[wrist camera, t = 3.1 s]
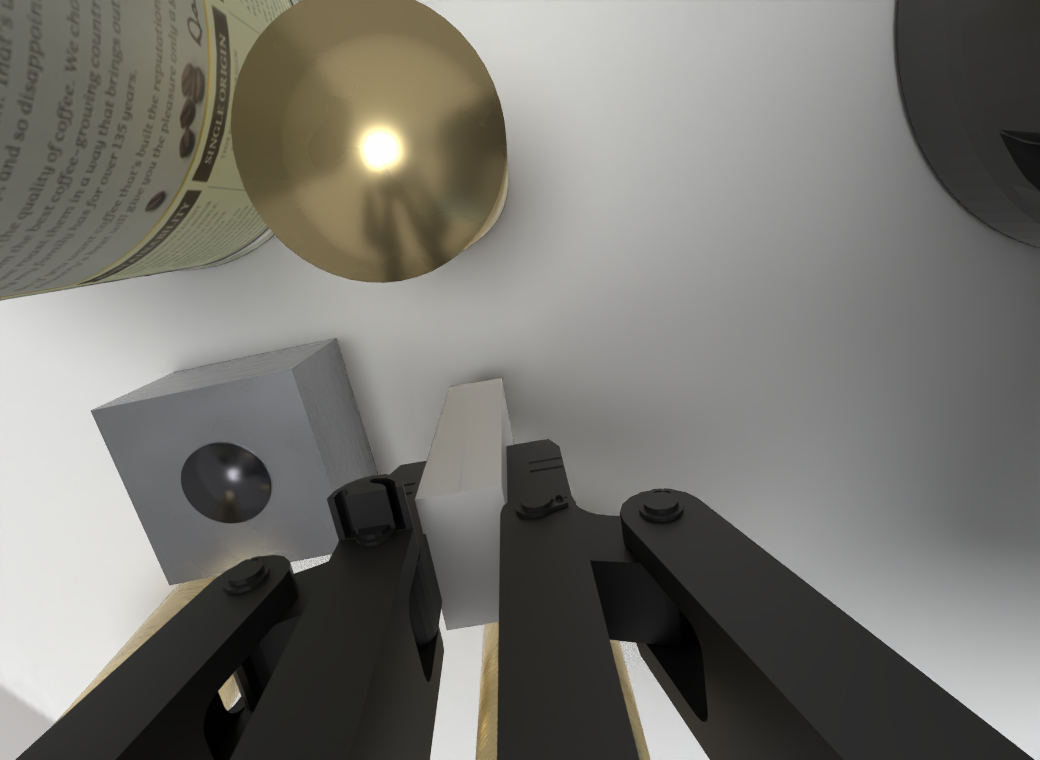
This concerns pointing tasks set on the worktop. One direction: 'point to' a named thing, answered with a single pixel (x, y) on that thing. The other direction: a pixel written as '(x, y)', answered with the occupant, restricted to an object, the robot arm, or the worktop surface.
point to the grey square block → (239, 457)
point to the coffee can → (121, 139)
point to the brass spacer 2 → (489, 697)
